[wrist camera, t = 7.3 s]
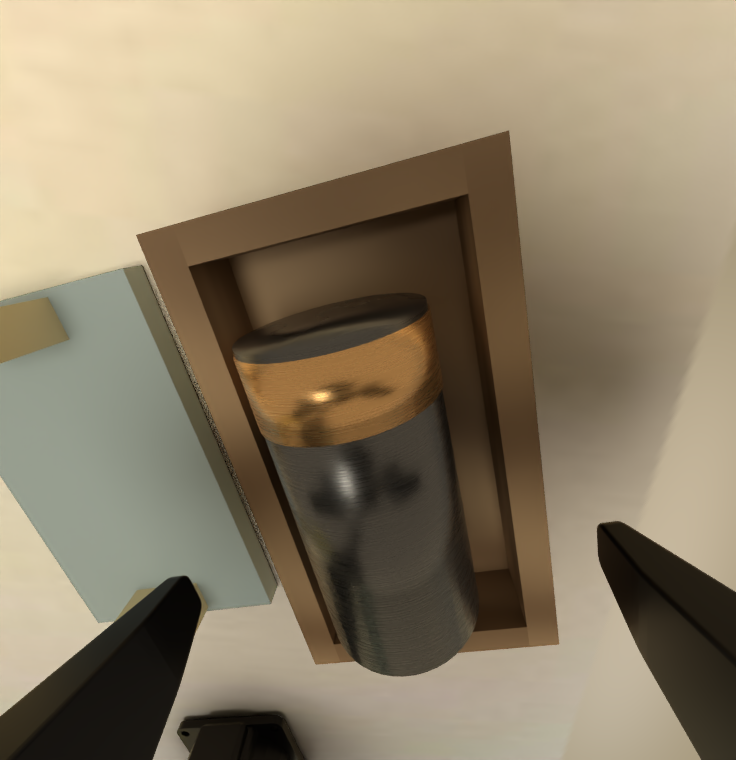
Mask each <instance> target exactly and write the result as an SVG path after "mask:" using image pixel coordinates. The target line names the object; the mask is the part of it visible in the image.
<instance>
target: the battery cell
mask: <svg viewBox="0 0 736 760" xmlns="http://www.w3.org/2000/svg"><path fill="white" fill-rule="evenodd" d="M232 351H233V353H234V354H233V360H234V362H235V365H236V368H237V371H238V373H239V376H240V379H241V381H242V384H243V387H244V389H245V392H246V395H247V398H248V400H249V403H250V406H251V408H252V411H253V414H254V416H255V419H256V422H257V425H258V427H259V430H260V432H261V434H262V435H263V436H264V438H265V440H266V443H267V446H268V448H269V451H270V454H271V457H272V459H273V462H274V465H275V467H276V470H277V473H278V476H279V478H280V481H281V484H282V486H283V489H284V492H285V495H286V497H287V500H288V503H289V505H290V508H291V511H292V514H293V516H294V519H295V522H296V524H297V527H298V530H299V533H300V535H301V538H302V541H303V543H304V546H305V549H306V552H307V554H308V557H309V560H310V562H311V565H312V568H313V571H314V573H315V576H316V579H317V581H318V584H319V587H320V590H321V592H322V595H323V598H324V600H325V603H326V606H327V609H328V611H329V614H330V617H331V619H332V622H333V625H334V628H335V630H336V633H337V636H338V638H339V640H340V642H341V644H342V646H343V648H344V649H345V650H346V652H347V653H348V654H349V655H350V656H351V657H352V658H353V659H354V660H355V661H356V662H357V663H359V664H360V665H362V666H363V667H365V668H367V669H369V670H371V671H373V672H376V673H379V674H383V675H389V676H411V675H417V674H421V673H425V672H428V671H430V670H432V669H435V668H437V667H439V666H441V665H442V664H444V663H446V662H447V661H448V660H450V659H451V658H452V657H453V656H455V655H456V654H457V653H458V652H459V651H460V650H461V649H462V648H463V646H464V645H465V643H466V642H467V641H468V639H469V638H470V636H471V634H472V632H473V630H474V627H475V625H476V622H477V618H478V613H479V595H478V589H477V583H476V577H475V572H474V566H473V560H472V555H471V549H470V543H469V538H468V532H467V526H466V520H465V515H464V509H463V503H462V498H461V492H460V486H459V481H458V475H457V469H456V464H455V458H454V452H453V447H452V441H451V435H450V430H449V424H448V418H447V413H446V407H445V401H444V396H443V390H442V387H443V379H442V373H441V367H440V362H439V356H438V350H437V344H436V339H435V333H434V327H433V321H432V316H431V310H430V306H429V304H428V303H427V299H426V297H425V296H423V295H421V294H416V293H389V294H380V295H372V296H366V297H360V298H355V299H350V300H345V301H341V302H336V303H332V304H328V305H324V306H320V307H317V308H313V309H310V310H306V311H303V312H300V313H296V314H293V315H290V316H287V317H284V318H282V319H279V320H276V321H274V322H271V323H269V324H266V325H264V326H262V327H259V328H257V329H255V330H253V331H251V332H249V333H248V334H246V335H244V336H243V337H241V338H240V339H238V340H237V341H236V342H235V343H234V344H233V346H232Z"/></svg>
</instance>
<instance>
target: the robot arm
mask: <svg viewBox="0 0 736 760" xmlns="http://www.w3.org/2000/svg"><path fill="white" fill-rule="evenodd" d="M597 542H598V557H599V562H600V565H601V567H602V570H603V572H604V574H605V576H606V579H607V581H608V583H609V585H610V587H611V590H612V592H613V594H614V596H615V599H616V601H617V603H618V605H619V607H620V610H621V612H622V614H623V616H624V619H625V621H626V623H627V625H628V627H629V630H630V632H631V634H632V636H633V638H634V640H635V643H636V645H637V647H638V649H639V651H640V653H641V654H642V656H643V658H644V660H645V662H646V664H647V665H648V667H649V669H650V671H651V672H652V674H653V676H654V678H655V680H656V681H657V683H658V685H659V687H660V688H661V690H662V692H663V694H664V695H665V697H666V699H667V701H668V702H669V704H670V706H671V707H672V709H673V711H674V713H675V715H676V716H677V718H678V720H679V722H680V723H681V725H682V727H683V728H684V730H685V732H686V734H687V736H688V737H689V739H690V741H691V742H692V744H693V746H694V748H695V749H696V751H697V753H698V755H699V756H700V758H701V760H736V592H735V591H733V590H731V589H730V588H728V587H727V586H725V585H724V584H722V583H720V582H719V581H717V580H715V579H713V578H712V577H711V576H709V575H707V574H706V573H704V572H702V571H701V570H699V569H698V568H696V567H694V566H692V565H691V564H690V563H688V562H686V561H684V560H683V559H681V558H680V557H678V556H677V555H674V554H673V553H672V552H670V551H668V550H667V549H665V548H664V547H662V546H660V545H659V544H657V543H656V542H654V541H652V540H651V539H649V538H647V537H646V536H644V535H643V534H641V533H639V532H638V531H636V530H634V529H633V528H631V527H630V526H628V525H626V524H625V523H623V522H620V521H614V522H606V523H600V524H599V525H598V527H597ZM201 609H202V602H201V599H200V597H199V595H198V593H197V591H196V589H195V587H194V585H193V583H192V581H191V580H190V578H189V577H188V576H185V575H182V576H174V577H170V578H168V579H166V580H165V581H164V582H163V583H161V584H160V585H159V586H158V587H157V588H155V589H154V590H153V591H152V592H151V593H149V594H148V595H147V596H146V597H144V598H143V599H142V600H141V601H140V602H138V603H137V604H136V605H135V606H134V607H132V608H131V609H130V610H129V611H127V612H126V613H125V614H124V615H123V616H121V617H120V618H119V619H118V620H117V621H115V622H114V623H113V624H112V625H111V626H109V627H108V628H107V629H106V630H104V631H103V632H102V633H101V634H100V635H98V636H97V637H96V638H95V639H94V640H92V641H91V642H90V643H89V644H87V645H86V646H85V647H84V648H83V649H81V650H80V651H79V652H78V653H77V654H75V655H74V656H73V657H72V658H70V659H69V660H68V661H67V662H66V663H64V664H63V665H62V666H61V667H60V668H58V669H57V670H56V671H55V672H54V673H52V674H51V675H50V676H49V677H47V678H46V679H45V680H44V681H43V682H41V683H40V684H39V685H38V686H37V687H35V688H34V689H33V690H32V691H30V692H29V693H28V694H27V695H26V696H24V697H23V698H22V699H21V700H20V701H18V702H17V703H16V704H15V705H13V706H12V707H11V708H10V709H9V710H7V711H6V712H5V713H4V714H3V715H1V716H0V760H152V759H153V757H154V754H155V751H156V749H157V746H158V743H159V741H160V738H161V735H162V733H163V730H164V727H165V725H166V722H167V719H168V717H169V714H170V711H171V709H172V706H173V703H174V701H175V698H176V695H177V692H178V689H179V687H180V683H181V680H182V677H183V674H184V670H185V667H186V663H187V660H188V656H189V653H190V649H191V646H192V642H193V639H194V635H195V632H196V628H197V624H198V621H199V617H200V614H201ZM177 734H178V735H179V737H180V738H181V740H182V742H183V743H184V745H185V746H186V748H187V749H188V751H189V752H190V755H189V757H188V760H304V758H303V756H302V754H301V752H300V750H299V748H298V746H297V744H296V742H295V740H294V738H293V736H292V734H291V732H290V730H289V728H288V726H287V724H286V722H285V720H284V719H283V718H282V717H281V716H278V715H265V716H249V717H233V718H218V719H202V720H186V721H182V722H181V724H180V726H179V728H178V731H177Z"/></svg>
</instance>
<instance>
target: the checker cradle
mask: <svg viewBox="0 0 736 760" xmlns="http://www.w3.org/2000/svg"><path fill="white" fill-rule="evenodd" d="M0 476H1V478H2V479H3V481H4V482H5V484H6V485H7V487H8V488H9V490H10V491H11V493H12V494H13V496H14V497H15V499H16V500H17V502H18V503H19V505H20V506H21V508H22V509H23V511H24V512H25V514H26V515H27V517H28V518H29V520H30V521H31V523H32V524H33V526H34V527H35V529H36V530H37V532H38V533H39V535H40V536H41V538H42V539H43V541H44V542H45V544H46V545H47V547H48V548H49V550H50V551H51V553H52V554H53V556H54V557H55V559H56V560H57V562H58V563H59V565H60V566H61V568H62V569H63V571H64V572H65V574H66V575H67V577H68V578H69V580H70V581H71V583H72V584H73V586H74V587H75V589H76V590H77V592H78V593H79V595H80V596H81V598H82V599H83V601H84V602H85V604H86V605H87V607H88V608H89V610H90V611H91V613H92V614H93V616H94V617H95V619H96V620H97V622H98V623H102V622H111V621H114V622H115V621H117V620H118V619H119V618H120V617H121V616H123V615H124V614H125V613H126V612H127V611H129V610H130V609H131V608H132V607H134V606H135V605H136V604H137V603H138V602H140V601H141V600H142V599H143V598H144V597H146V596H147V595H148V594H149V593H151V592H152V591H153V590H154V589H155V588H157V587H158V586H159V585H160V584H161V583H163V582H164V581H165V580H166V579H168V578H170V577H174V576H182V575H185V576H188V577H189V578H190V580H191V581H192V583H193V585H194V587H195V589H196V591H197V593H198V595H199V597H200V599H201V602H202V609H201V614H200V617H199V621H198V624H197V628H196V631H197V629H198V627H199V625H200V623H201V621H202V619H203V617H204V615H205V613H206V611H211V610H220V609H230V608H239V607H248V606H257V605H266V604H271V602H272V599H273V597H274V594H275V591H276V588H277V583H276V581H275V578H274V576H273V574H272V571H271V569H270V567H269V564H268V562H267V559H266V557H265V555H264V552H263V550H262V548H261V545H260V543H259V541H258V538H257V536H256V534H255V531H254V529H253V526H252V524H251V522H250V519H249V517H248V515H247V512H246V510H245V508H244V505H243V503H242V501H241V498H240V496H239V494H238V491H237V489H236V486H235V484H234V482H233V479H232V477H231V475H230V472H229V470H228V468H227V465H226V463H225V461H224V458H223V456H222V453H221V451H220V449H219V446H218V444H217V442H216V439H215V437H214V435H213V432H212V430H211V428H210V425H209V423H208V420H207V418H206V416H205V413H204V411H203V409H202V406H201V404H200V402H199V399H198V397H197V395H196V392H195V390H194V388H193V385H192V383H191V380H190V378H189V376H188V373H187V371H186V369H185V366H184V364H183V362H182V359H181V357H180V355H179V352H178V350H177V347H176V345H175V343H174V340H173V338H172V336H171V333H170V331H169V329H168V326H167V324H166V322H165V319H164V317H163V315H162V312H161V310H160V307H159V305H158V303H157V300H156V298H155V296H154V293H153V291H152V289H151V286H150V284H149V282H148V279H147V277H146V274H145V272H144V270H143V267H142V265H141V266H135V267H129V268H123V269H119V270H115V271H111V272H108V273H104V274H100V275H96V276H93V277H89V278H85V279H81V280H78V281H74V282H70V283H67V284H63V285H59V286H55V287H52V288H48V289H44V290H40V291H37V292H33V293H29V294H25V295H22V296H18V297H14V298H10V299H7V300H3V301H0ZM195 633H196V632H195Z"/></svg>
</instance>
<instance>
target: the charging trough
mask: <svg viewBox="0 0 736 760" xmlns="http://www.w3.org/2000/svg"><path fill="white" fill-rule="evenodd" d="M136 236H137V239H138V241H139V243H140V246H141V248H142V251H143V253H144V255H145V258H146V260H147V262H148V265H149V267H150V270H151V272H152V274H153V277H154V279H155V282H156V284H157V286H158V289H159V291H160V294H161V296H162V298H163V301H164V303H165V305H166V308H167V310H168V313H169V315H170V317H171V320H172V322H173V325H174V327H175V329H176V332H177V334H178V337H179V339H180V341H181V344H182V346H183V348H184V351H185V353H186V356H187V358H188V360H189V363H190V365H191V368H192V370H193V372H194V375H195V377H196V380H197V382H198V384H199V387H200V389H201V392H202V394H203V396H204V399H205V401H206V403H207V406H208V408H209V411H210V413H211V415H212V418H213V420H214V423H215V425H216V427H217V430H218V432H219V435H220V437H221V439H222V442H223V444H224V446H225V449H226V451H227V454H228V456H229V458H230V461H231V463H232V466H233V468H234V470H235V473H236V475H237V478H238V480H239V482H240V485H241V487H242V489H243V492H244V494H245V497H246V499H247V501H248V504H249V506H250V509H251V511H252V513H253V516H254V518H255V521H256V523H257V525H258V528H259V530H260V532H261V535H262V537H263V540H264V542H265V544H266V547H267V549H268V552H269V554H270V556H271V559H272V561H273V564H274V566H275V568H276V571H277V573H278V576H279V578H280V580H281V583H282V585H283V587H284V590H285V592H286V595H287V597H288V599H289V602H290V604H291V607H292V609H293V611H294V614H295V616H296V619H297V621H298V623H299V626H300V628H301V630H302V633H303V635H304V638H305V640H306V642H307V645H308V647H309V650H310V652H311V654H312V657H313V659H314V662H315V664H328V663H340V662H352V661H355V660H354V659H353V658H352V657H351V656H350V655H349V654H348V653H347V652H346V650H345V649H344V648H343V646H342V644H341V642H340V640H339V638H338V636H337V633H336V630H335V628H334V625H333V622H332V619H331V617H330V614H329V611H328V609H327V606H326V603H325V600H324V598H323V595H322V592H321V590H320V587H319V584H318V581H317V579H316V576H315V573H314V571H313V568H312V565H311V562H310V560H309V557H308V554H307V552H306V549H305V546H304V543H303V541H302V538H301V535H300V533H299V530H298V527H297V524H296V522H295V519H294V516H293V514H292V511H291V508H290V505H289V503H288V500H287V497H286V495H285V492H284V489H283V486H282V484H281V481H280V478H279V476H278V473H277V470H276V467H275V465H274V462H273V459H272V457H271V454H270V451H269V448H268V446H267V443H266V440H265V438H264V436H263V435H262V434H261V432H260V430H259V427H258V425H257V422H256V419H255V416H254V414H253V411H252V408H251V406H250V403H249V400H248V398H247V395H246V392H245V389H244V387H243V384H242V381H241V379H240V376H239V373H238V371H237V368H236V365H235V362H234V360H233V354H234V353H233V351H232V346H233V344H234V343H235V342H236V341H237V340H238V339H240V338H241V337H243V336H244V335H246V334H248V333H249V332H251V331H253V330H255V329H257V328H259V327H262V326H264V325H266V324H269V323H271V322H274V321H276V320H279V319H282V318H284V317H287V316H290V315H293V314H296V313H300V312H303V311H306V310H310V309H313V308H317V307H320V306H324V305H328V304H332V303H336V302H341V301H345V300H350V299H355V298H360V297H366V296H372V295H380V294H389V293H416V294H421V295H423V296H425V297H426V299H427V303H428V304H429V306H430V310H431V316H432V321H433V327H434V333H435V339H436V344H437V350H438V356H439V362H440V367H441V373H442V379H443V387H442V390H443V396H444V401H445V407H446V413H447V418H448V424H449V430H450V435H451V441H452V447H453V452H454V458H455V464H456V469H457V475H458V481H459V486H460V492H461V498H462V503H463V509H464V515H465V520H466V526H467V532H468V538H469V543H470V549H471V555H472V560H473V566H474V572H475V577H476V583H477V589H478V595H479V613H478V618H477V622H476V625H475V627H474V630H473V632H472V634H471V636H470V638H469V639H468V641H467V642H466V643H465V645H464V646H463V648H462V649H461V650H460V651H459V652H458V653H461V652H473V651H485V650H497V649H509V648H521V647H533V646H545V645H557V644H559V638H558V628H557V617H556V607H555V597H554V587H553V576H552V566H551V556H550V546H549V535H548V525H547V515H546V505H545V494H544V484H543V474H542V464H541V453H540V443H539V433H538V423H537V412H536V402H535V392H534V381H533V371H532V361H531V351H530V340H529V330H528V320H527V310H526V299H525V289H524V279H523V269H522V258H521V248H520V238H519V228H518V217H517V207H516V197H515V187H514V176H513V166H512V156H511V146H510V135H509V131H506V132H502V133H499V134H495V135H492V136H488V137H485V138H481V139H477V140H474V141H470V142H467V143H463V144H460V145H456V146H452V147H449V148H445V149H442V150H438V151H435V152H431V153H427V154H424V155H420V156H417V157H413V158H410V159H406V160H402V161H399V162H395V163H392V164H388V165H385V166H381V167H377V168H374V169H370V170H367V171H363V172H360V173H356V174H352V175H349V176H345V177H342V178H338V179H335V180H331V181H327V182H324V183H320V184H317V185H313V186H310V187H306V188H302V189H299V190H295V191H292V192H288V193H285V194H281V195H277V196H274V197H270V198H267V199H263V200H260V201H256V202H252V203H249V204H245V205H242V206H238V207H235V208H231V209H227V210H224V211H220V212H217V213H213V214H210V215H206V216H203V217H199V218H195V219H192V220H188V221H185V222H181V223H178V224H174V225H170V226H167V227H163V228H160V229H156V230H153V231H149V232H145V233H142V234H138V235H136Z"/></svg>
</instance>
